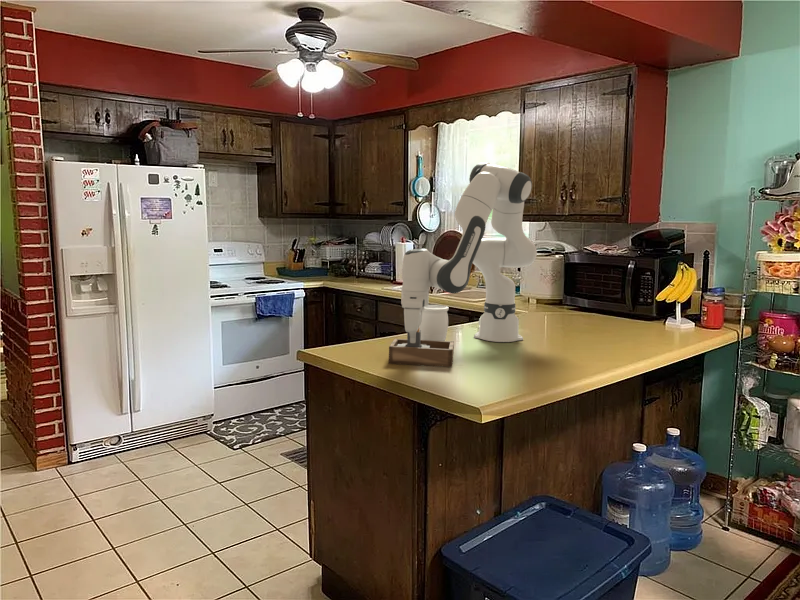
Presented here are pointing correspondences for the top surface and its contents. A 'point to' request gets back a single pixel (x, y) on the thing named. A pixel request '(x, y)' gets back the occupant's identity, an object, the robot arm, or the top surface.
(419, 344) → the block
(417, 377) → the top surface
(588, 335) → the top surface
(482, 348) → the top surface
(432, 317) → the jar
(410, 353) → the box
